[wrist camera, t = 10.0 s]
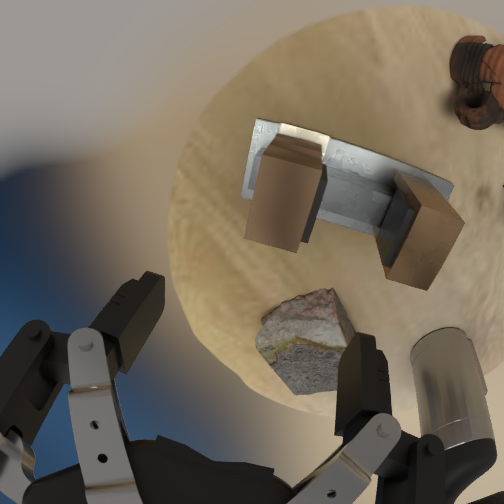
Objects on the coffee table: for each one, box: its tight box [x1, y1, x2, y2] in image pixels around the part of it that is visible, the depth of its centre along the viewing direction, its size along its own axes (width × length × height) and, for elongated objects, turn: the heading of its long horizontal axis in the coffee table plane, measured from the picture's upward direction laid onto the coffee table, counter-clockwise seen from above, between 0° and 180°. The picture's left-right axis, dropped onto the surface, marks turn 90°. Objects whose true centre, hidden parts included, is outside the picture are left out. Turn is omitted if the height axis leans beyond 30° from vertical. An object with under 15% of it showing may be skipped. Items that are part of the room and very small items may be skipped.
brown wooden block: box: [244, 133, 328, 253], centre depth 24 cm, size 5×6×8 cm
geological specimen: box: [256, 288, 355, 395], centre depth 38 cm, size 11×6×15 cm
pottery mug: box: [451, 36, 504, 130], centre depth 17 cm, size 12×10×8 cm
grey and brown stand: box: [241, 118, 465, 291], centre depth 24 cm, size 20×8×9 cm, turn 79°
